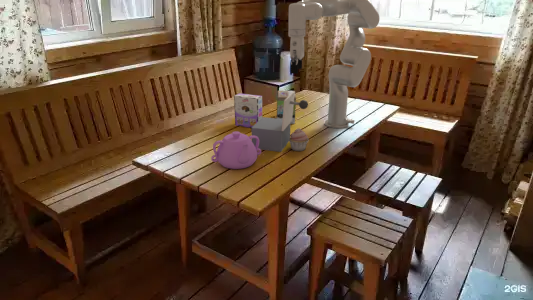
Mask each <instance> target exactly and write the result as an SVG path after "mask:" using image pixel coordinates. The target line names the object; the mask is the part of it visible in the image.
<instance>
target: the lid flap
mask: <svg viewBox="0 0 533 300" xmlns="http://www.w3.org/2000/svg"><path fill="white" fill-rule="evenodd" d="M294 95H296V91H295V92H292V93H291V94H290V95H289V96H288V97H287V98H286V99H285V100H284V108H283V120H282V131H284V130H285V128H286V127H287V126H288V125H289V124H290V122H291V121H292V116H293V106H294V105H296V106H298V107H299V108H300V109H301V110H305V109H307V108H308V106H309V103H308V101H307V100H305V99H302V100H300V101H298V102H297V101H296V102H294ZM290 125H291V124H290Z"/></svg>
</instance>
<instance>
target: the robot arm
mask: <svg viewBox="0 0 533 300" xmlns="http://www.w3.org/2000/svg"><path fill="white" fill-rule="evenodd" d="M342 15H347V19H346V20H347V25H348V30H349V35H348V37H347V40H346V42H345V44H344V46H343V48H342V50H341V53H340V55H339V60H340V62H341V63H342V64H335V65H332V66H330V69H329V71H328V81H329V82H328V83H329V94H328V96H329V97H328V111H327V119H326V120H325V121H324V125H325V126H326V127H328V128H333V129H344V128H347V127H348V126H349V125H350V124H353V125H354V124H355V120H354V119H353V118H349V117H348V115H347V110H348V99H349V89H348V88H349V87H350V88H356V87H358V86H359V85H360V83H361V82H362V81H363V78H364V76H365V74H366V72H367V70H368V68H369V65H370V63H371V60H372V53H371V51H370V50H369V49H368V48H366V47H364V44H365V42H366V34H365V31H364V29H368V30H369V29H370V30H371V29H375V28H377V26H379V24H380V15H379V12H378V11H377V9H376V7H375V6H374V5H373V3H372V2H371V1H370V0H300V1H297V2H294V3H290V4H289V5H288V37H289V38H290V41H289V42H290V43H289V44H290V45H289V47H290V48H289V59H291V60H290V74H298V73H299V70H302V68H303V58H304V57H305V38H304V37H306V28H307V27H306V22H307V21H308V20H310V21H316V20H318V19H320V18H321V17H328V18H329V17H336V16H342ZM343 64H344V65H343Z"/></svg>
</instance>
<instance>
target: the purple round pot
mask: <svg viewBox="0 0 533 300" xmlns="http://www.w3.org/2000/svg"><path fill="white" fill-rule="evenodd" d="M252 138H256V140H257V141H256V146H254V144H253V142H252ZM217 145H218V147H217ZM258 146H259V138H258V137H257V136H255V135H252V134H251V135H247V134H245V133H241V132H240V131H238V130H237V131H232V132H231V133H229V134H227V135H225V136H224V137H223V138H222V139H221V140H217V141H214V142H213V144H212V150H213V155H212V156H211V157H210V159H211V162H213V163H217V162H218V163H219V164H220V165H221V166H222V167H224V168H226V169H231V170H237V169H238V170H240V169H241V170H242V169H246V168H249V167H250V166H252V165H253V164H254V163H255V162H256V160H257V158H258V156H260V155H261V154H262V149H260V148H258ZM216 147H217V148H216Z"/></svg>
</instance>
